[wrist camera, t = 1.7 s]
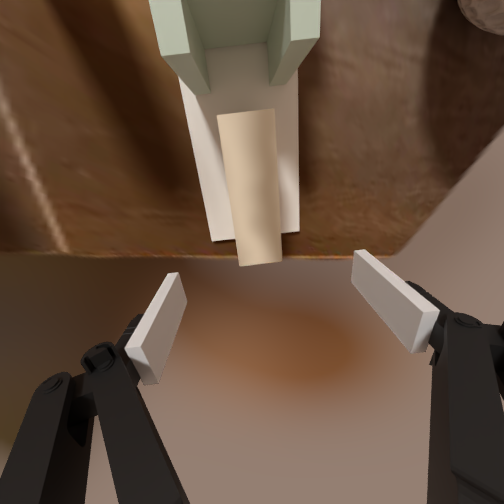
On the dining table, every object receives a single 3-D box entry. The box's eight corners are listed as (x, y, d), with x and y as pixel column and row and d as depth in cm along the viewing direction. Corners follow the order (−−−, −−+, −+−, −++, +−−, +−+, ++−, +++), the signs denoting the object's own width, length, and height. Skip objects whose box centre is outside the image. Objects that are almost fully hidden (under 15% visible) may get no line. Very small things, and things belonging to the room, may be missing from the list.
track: (212, 239, 35) (199, 284, 23) (144, -96, 20) (16, -426, 8) (298, 229, 35) (326, 269, 23) (294, -114, 20) (367, -469, 8)
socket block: (194, 95, 26) (161, 56, 15) (177, 0, 22) (117, -141, 11) (286, 84, 26) (319, 37, 15) (283, -12, 22) (324, -166, 11)
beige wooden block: (239, 235, 34) (239, 266, 25) (224, 126, 27) (216, 115, 18) (271, 231, 34) (282, 261, 25) (263, 121, 27) (274, 108, 18)
